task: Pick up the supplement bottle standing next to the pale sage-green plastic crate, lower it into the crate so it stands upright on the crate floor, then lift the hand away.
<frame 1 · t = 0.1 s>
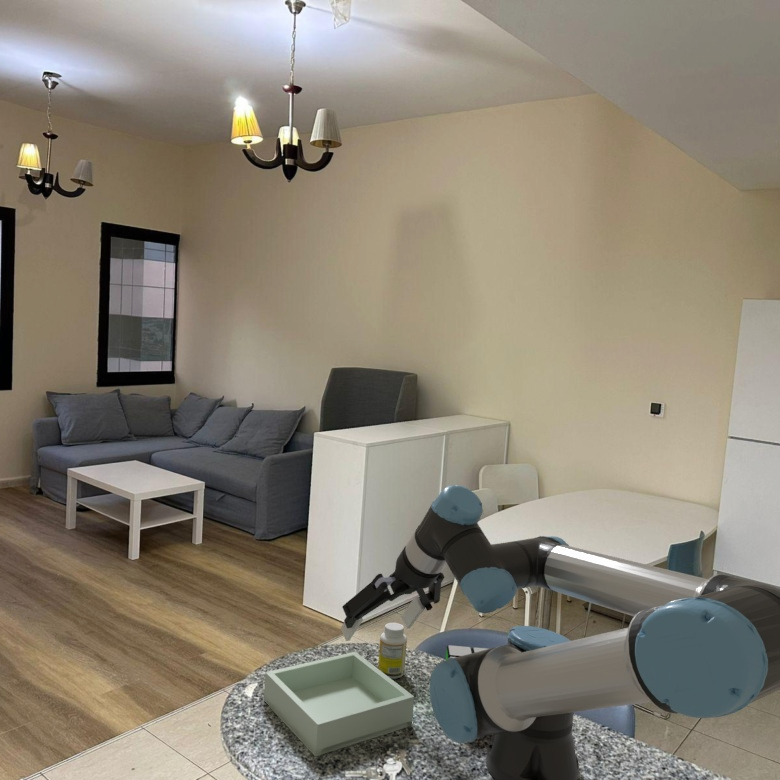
hand: (376, 628, 133), 15 cm above the granite counter, tool tilted 35°, fingers open, 13 cm apart
crate: (336, 712, 131), on the granite counter
supplement bottle: (390, 674, 148), on the granite counter
puzzle cube: (469, 708, 137), on the granite counter
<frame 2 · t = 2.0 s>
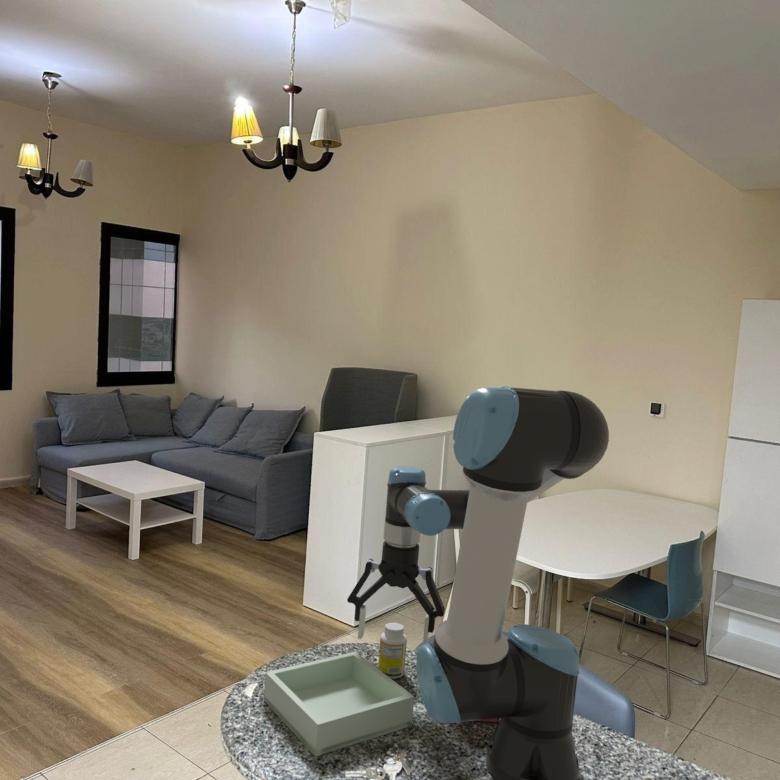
hand: (392, 641, 148), 7 cm above the granite counter, tool pointing down, fingers open, 13 cm apart
nothing on the granite counter moved.
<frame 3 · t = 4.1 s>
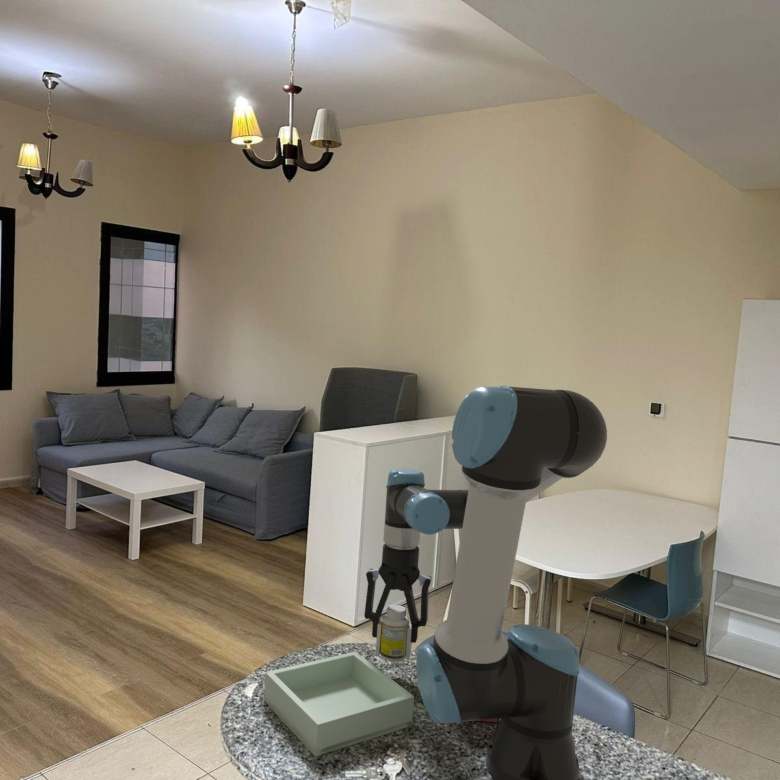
hand: (393, 654, 147), 4 cm above the granite counter, tool pointing down, fingers closed on supplement bottle, 5 cm apart
supplement bottle: (392, 657, 147), point 4 cm above the granite counter, touching gripper
everything else where it was.
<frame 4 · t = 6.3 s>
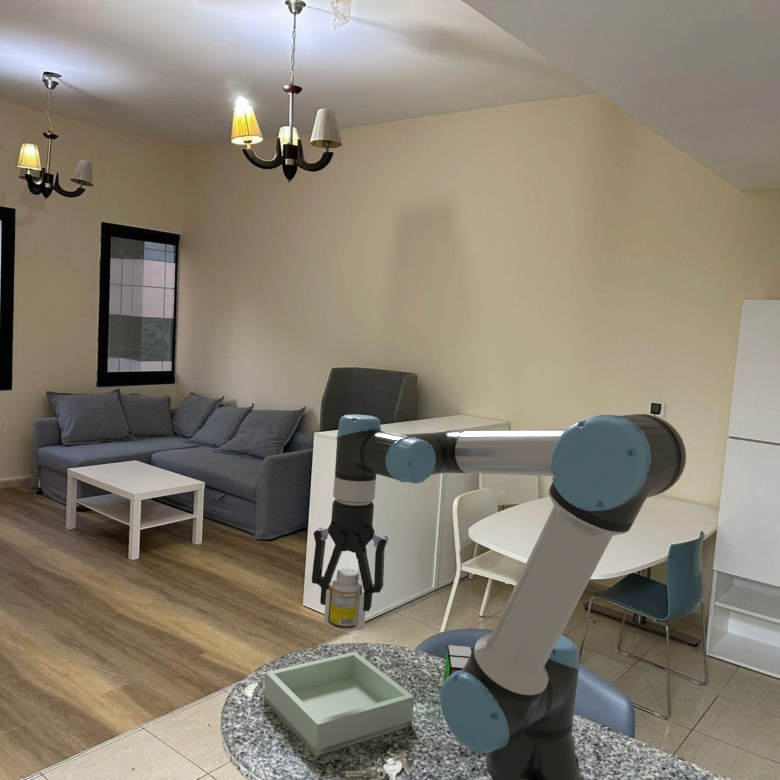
hand: (344, 624, 130), 17 cm above the granite counter, tool pointing down, fingers closed on supplement bottle, 5 cm apart
supplement bottle: (343, 627, 130), point 16 cm above the granite counter, touching gripper
everything else where it was.
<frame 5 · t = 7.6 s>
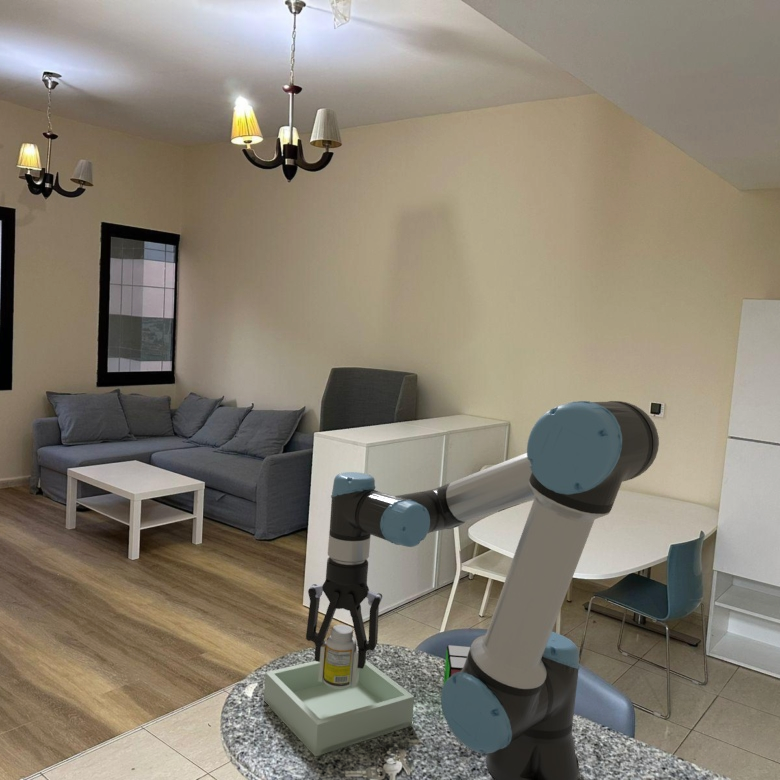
hand: (338, 680, 130), 6 cm above the granite counter, tool pointing down, fingers closed on supplement bottle, 5 cm apart
supplement bottle: (337, 683, 130), point 6 cm above the granite counter, touching gripper
everything else where it was.
when the fingers open (2 cm above the granite counter, at t = 8.6 s): supplement bottle stays where it is, resting on crate.
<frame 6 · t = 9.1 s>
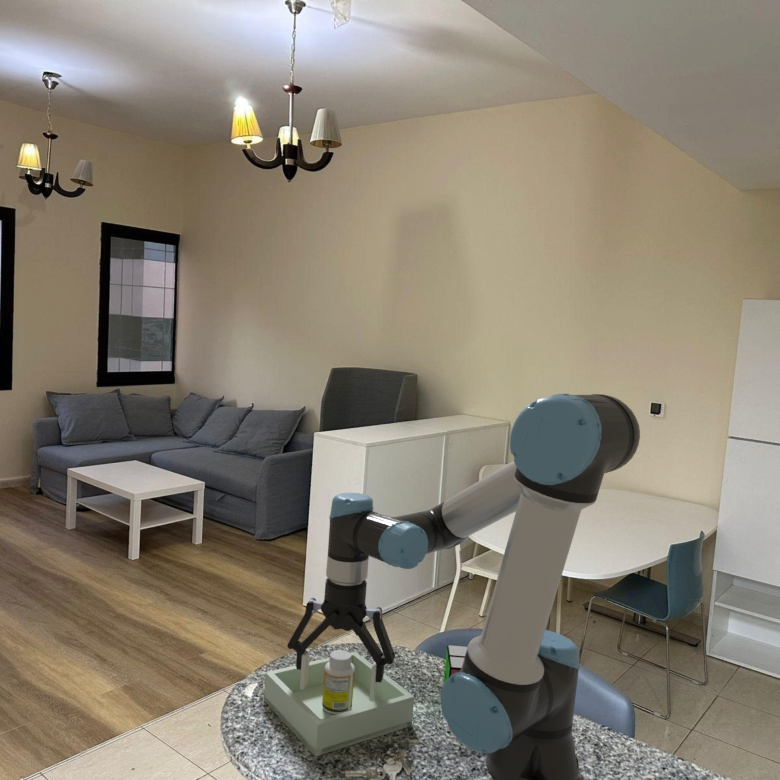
hand: (337, 691, 131), 4 cm above the granite counter, tool pointing down, fingers open, 12 cm apart
supplement bottle: (336, 709, 131), point 1 cm above the granite counter, touching crate
everything else where it was.
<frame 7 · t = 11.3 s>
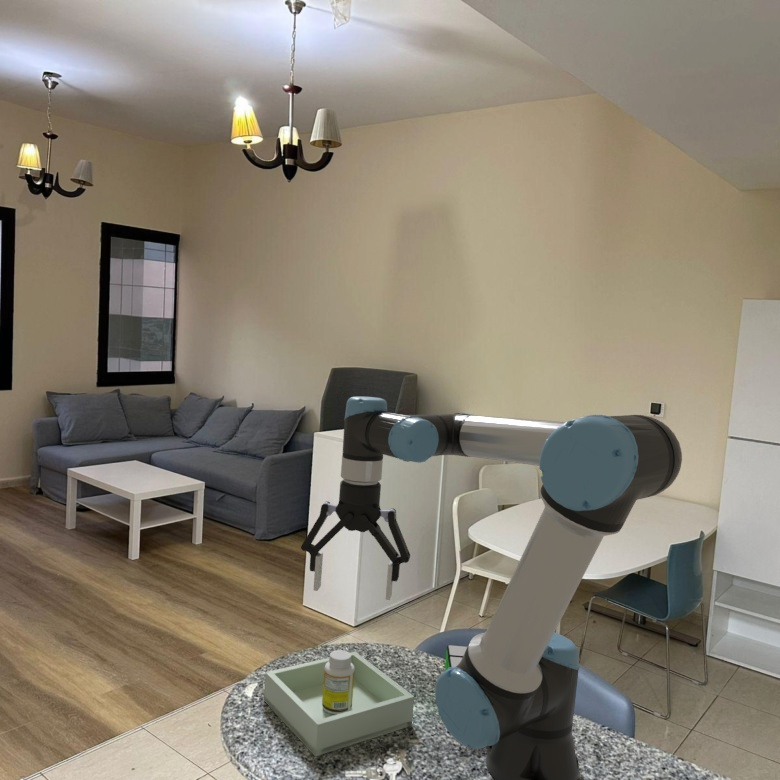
hand: (352, 592, 132), 22 cm above the granite counter, tool pointing down, fingers open, 13 cm apart
nothing on the granite counter moved.
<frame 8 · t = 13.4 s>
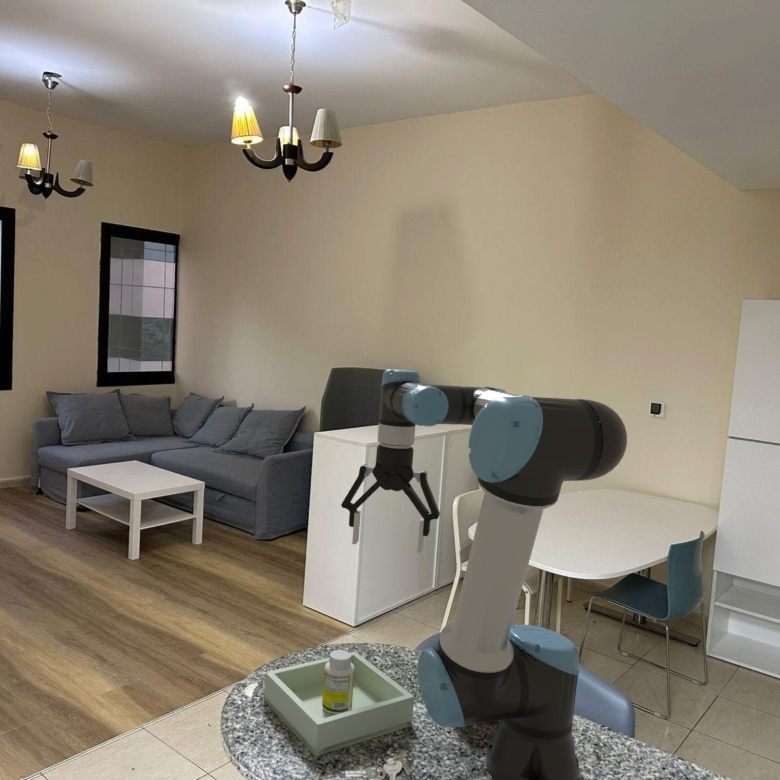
hand: (387, 546, 146), 27 cm above the granite counter, tool pointing down, fingers open, 13 cm apart
nothing on the granite counter moved.
at the end: supplement bottle inside the target area on the crate (0.2 cm from its centre), point 0.8 cm above the crate's base; supplement bottle tilted 0°; the gripper is holding nothing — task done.
